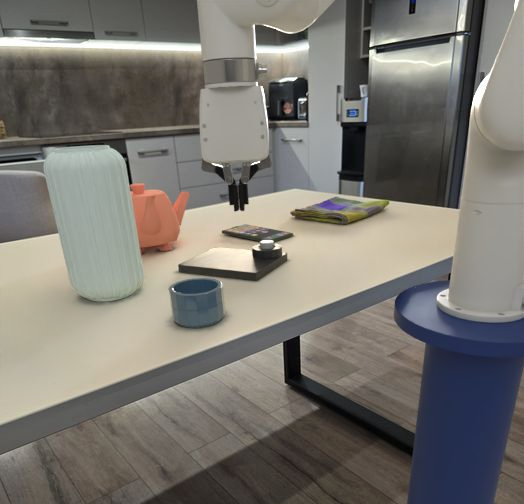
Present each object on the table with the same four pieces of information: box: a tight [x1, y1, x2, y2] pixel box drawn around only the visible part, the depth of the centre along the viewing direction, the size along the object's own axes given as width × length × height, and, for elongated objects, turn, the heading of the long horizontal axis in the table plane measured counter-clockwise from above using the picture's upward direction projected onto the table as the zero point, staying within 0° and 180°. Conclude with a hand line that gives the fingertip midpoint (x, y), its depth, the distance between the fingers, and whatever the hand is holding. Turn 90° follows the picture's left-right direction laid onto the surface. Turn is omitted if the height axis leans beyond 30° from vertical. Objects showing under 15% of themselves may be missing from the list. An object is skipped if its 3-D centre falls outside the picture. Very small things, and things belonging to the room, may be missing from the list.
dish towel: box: [290, 196, 390, 225], centre depth 128 cm, size 18×24×3 cm
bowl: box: [168, 277, 226, 329], centre depth 66 cm, size 7×7×5 cm
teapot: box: [129, 182, 191, 255], centre depth 101 cm, size 16×17×14 cm
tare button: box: [259, 240, 275, 249], centre depth 89 cm, size 3×3×1 cm
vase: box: [42, 144, 145, 303], centre depth 74 cm, size 12×12×22 cm
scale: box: [177, 242, 288, 282], centre depth 89 cm, size 16×13×3 cm
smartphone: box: [221, 223, 294, 243], centre depth 110 cm, size 8×15×1 cm, turn 48°
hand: (239, 209), depth 76 cm, fingers closed
